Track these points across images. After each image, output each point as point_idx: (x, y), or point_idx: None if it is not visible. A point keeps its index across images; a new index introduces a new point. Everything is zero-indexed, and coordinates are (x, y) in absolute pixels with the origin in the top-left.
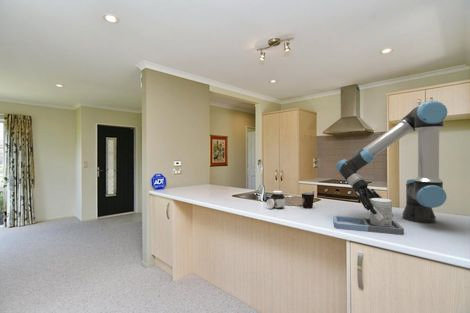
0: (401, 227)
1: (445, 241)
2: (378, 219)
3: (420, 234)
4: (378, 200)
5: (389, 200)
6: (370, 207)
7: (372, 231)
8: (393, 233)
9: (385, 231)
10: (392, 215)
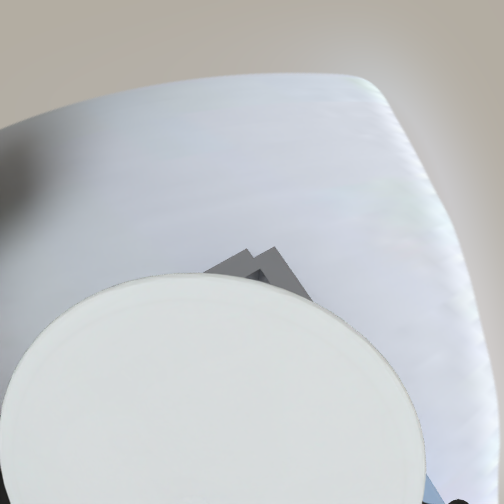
0: (225, 268)
1: (216, 113)
2: None
3: (176, 198)
4: (357, 500)
5: (131, 323)
6: (422, 501)
7: None
8: None
9: None
10: None
